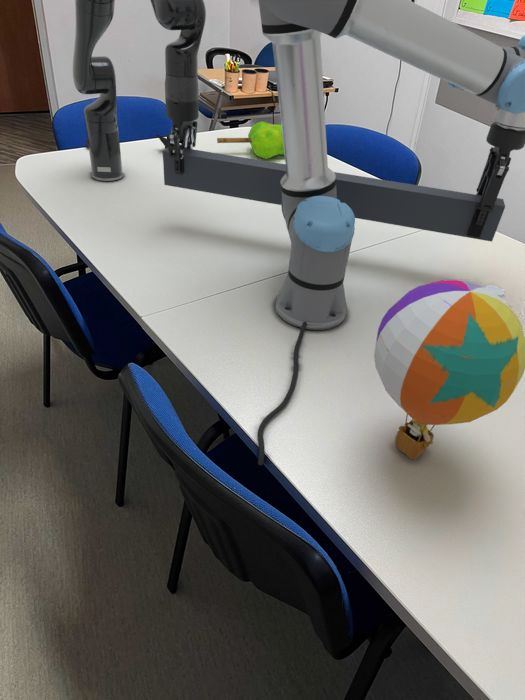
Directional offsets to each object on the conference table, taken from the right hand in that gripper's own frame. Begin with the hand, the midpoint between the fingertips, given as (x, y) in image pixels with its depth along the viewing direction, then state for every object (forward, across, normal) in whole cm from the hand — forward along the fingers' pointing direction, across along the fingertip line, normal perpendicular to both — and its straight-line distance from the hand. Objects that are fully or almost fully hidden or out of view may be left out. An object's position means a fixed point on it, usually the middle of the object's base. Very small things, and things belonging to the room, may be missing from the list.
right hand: (472, 231), depth 119 cm
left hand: (-2, 0, -71) cm, 71 cm away
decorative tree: (+14, -67, -69) cm, 97 cm away
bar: (+1, 0, -35) cm, 35 cm away
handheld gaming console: (+14, -55, -96) cm, 111 cm away
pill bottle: (+13, +18, +5) cm, 23 cm away
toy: (+13, +59, -8) cm, 61 cm away
